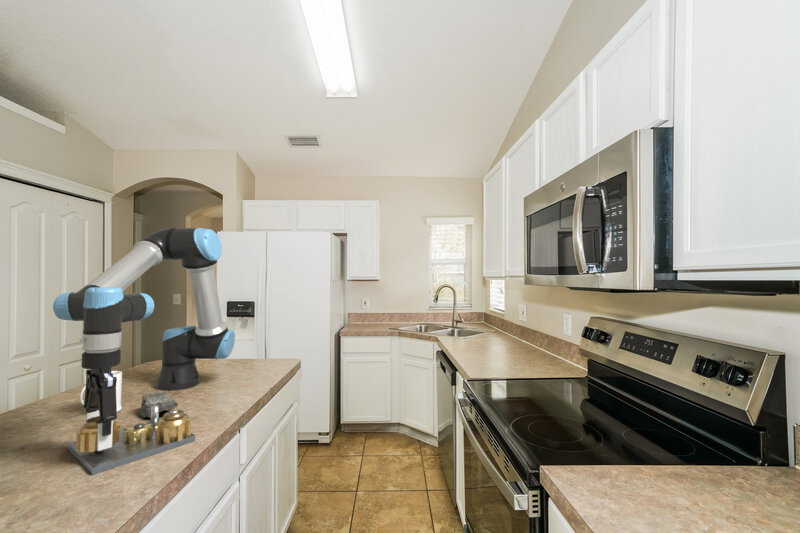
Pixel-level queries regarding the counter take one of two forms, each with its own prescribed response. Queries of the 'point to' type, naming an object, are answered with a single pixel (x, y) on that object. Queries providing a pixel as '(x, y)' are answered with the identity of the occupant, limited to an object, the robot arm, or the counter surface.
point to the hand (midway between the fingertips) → (98, 443)
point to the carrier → (139, 441)
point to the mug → (118, 389)
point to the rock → (156, 403)
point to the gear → (93, 435)
